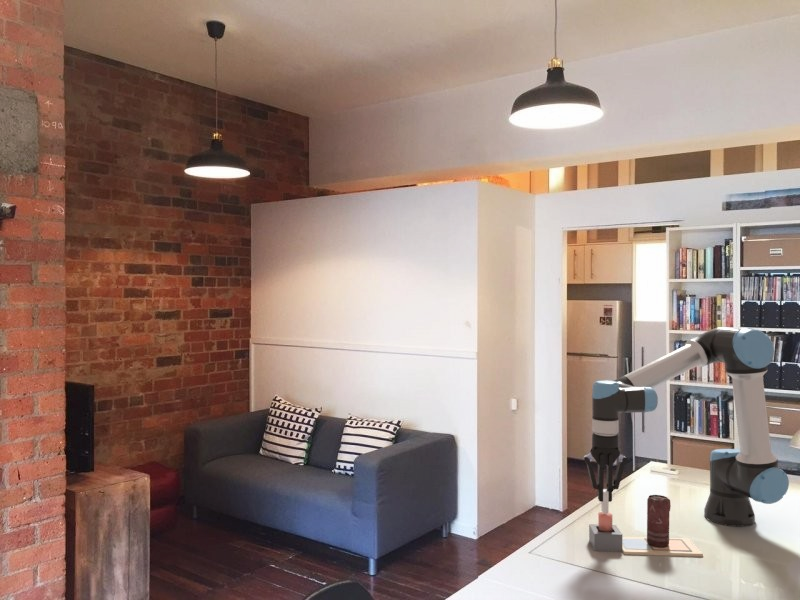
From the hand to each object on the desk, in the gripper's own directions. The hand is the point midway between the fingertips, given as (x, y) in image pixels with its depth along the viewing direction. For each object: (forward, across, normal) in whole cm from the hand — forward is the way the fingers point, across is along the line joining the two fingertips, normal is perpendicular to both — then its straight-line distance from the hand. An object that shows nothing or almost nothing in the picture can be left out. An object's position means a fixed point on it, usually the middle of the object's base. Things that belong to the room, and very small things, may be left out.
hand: (604, 512), depth 199 cm
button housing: (+10, 0, 0) cm, 10 cm away
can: (+9, -16, 0) cm, 18 cm away
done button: (+5, 0, 0) cm, 5 cm away
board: (+10, -15, 0) cm, 18 cm away
